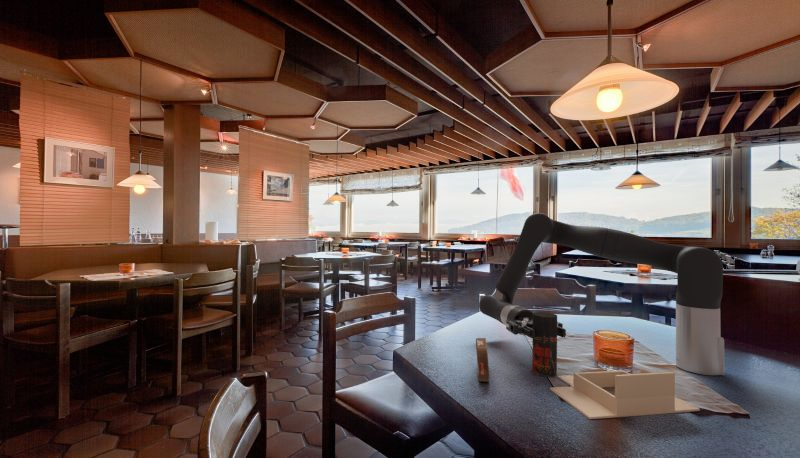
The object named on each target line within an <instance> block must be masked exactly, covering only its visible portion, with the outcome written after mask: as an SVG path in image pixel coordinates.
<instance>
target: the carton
mask: <svg viewBox="0 0 800 458" xmlns="http://www.w3.org/2000/svg"><path fill="white" fill-rule="evenodd" d="M557 379H559V380H560V381H562V382H564V383H565V384H566V385H568V386H557V387H549V390H550V391H551V392H553V394H555V395H557V396H558V397H559V398H561V399H562V400H563V401H564V402H565V403H567V404H569V405H570V406H571V407H573V408H574V409H575V410H577V411H578V412H579V413H580V414H582V415H583V416H585V417H586V418H587V419H589V420H598V419H610V418H612V419H613V418H624V417H626V418H627V417H637V416H651V415H663V414H676V413H687V412H688V413H690V412H700V411H701V408H699V407H697V406H695V405H692V404H690V403H689V402H687V401H685V400H683V399H680V398H679V397H676V383H675V382H676V373H675V372H674V371H667V372H665V371H663V372H649V373H647V372H646V373H630V372H627V371H625V370H623V369H622V370H606V371H605V370H603V371H588V372H587V371H586V372H573V374H572V375H571V374H570V375H558V376H557ZM604 388H614V394H612V393H610V392H609V391H607V390H605V389H604Z"/></svg>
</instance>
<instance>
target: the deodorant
mask: <svg viewBox="0 0 800 458" xmlns="http://www.w3.org/2000/svg"><path fill="white" fill-rule="evenodd" d="M557 322H558V314H555V313H551V312H543V311H538V312H537V311H536V312H535V311H534V312H533V329H534V330H535V338H531V339H532V345H531V346H532V347H531V348H532V349H531V350H532V353H531V354H532V356H531V358H532V361H531V362H532V363H531V364H532V365H531V366H532V367H531V371H532V373H534V374H535V375H538V376H540V377H545V378H551V377H552V378H554V377H556V376H557V374H558V335H557Z"/></svg>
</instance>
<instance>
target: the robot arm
mask: <svg viewBox="0 0 800 458" xmlns="http://www.w3.org/2000/svg"><path fill="white" fill-rule="evenodd" d="M543 243H544V244H553V245H559V246H564V247H568V248H572V249H575V250H577V251H580V252H583V253H586V254H589V255H592V256H596V257H598V258H603V259H607V260H611V261H615V262H620V263H621V262H622V263H628V264H635V265H643V266H644V265H645V266H651V267H655V268H658V269H662V270H666V271H669V272H671V273H675V274H677V276H676V277H677V281H676V282H677V286H676V287H677V289H676V293H675V366H677V367H678V368H679V369H681V370H683V371H686V372H690V373H694V374H698V375H705V376H725V339H724V337H722V336H721V302H722V299H723V288H724V287H723V284H724V266H723V261H722V259H721V257H720V256H719V254H718V253H716V252H715V251H713V250H712V249H710V248H707V247H701V246H686V245H677V244H672V243H671V244H670V243H664V242H660V241H655V240H652V239H649V238H647V237H646V238H645V236H644V237H643V236H640V235H638V234H634V233H631V232H626V231H622V230H619V229H613V228H608V227H602V226H592V225H591V226H589V225H574V224H568V223H565V222H561V221H558V220H555V219H552V218H550V217H549V215H547V214H545V213H542V212H536V213H535V212H534V213H532V214H530V215H529V216H527V218H526V219H525V220H524V224H523V227H522V229H521V232H520V235H519V238H518V241H517V243H516V245H515V248H514V250H513V252H512V254H511V256H510V258H508V259H509V260H508V262H507V263H506V264H505V267H504V268H503V270H502V272H501V274H500V276H499V278H498V279H497V281H496V283H495V286H494V287H495V289H496V290H497V291H498V292H499V293H501V294H502V298H501V299H500V298H498V297H496V296H494V295H492V294H486V295H484V296H482V297H481V298H480V300H479V303H478V306H479V307H478V308H479V311H480V312H481V313H482V314H483V315H485V316H487V317H490V318H492V319H494V320H496V321H498V322H499V323H501V324H502V325H504V326H505V329H506V330H507V331H508V332H510V334H511V333H512V334H513V335H515V336H517V335H521V336H527V337H528V338H530V339H533V338H535V330H534V329H533V313H534V312H533V311H532V310H530V309H527V308H525V307H522V306H520V305H517V304H513V302H514V298H515V295H516V292H517V290H519V287H520V286H521V283H522V282H523V280H524V278H525V275H526V273H527V270H528V268H529V265H530V262H531V260H532V258H533V256H534V254H535V253H536V251H537V250H538V248H539V246H541V244H543ZM563 326H564V324H563V323H562V322H559V321H557V337H560V338H566V336H567V335H566V334H567V330H566V329H565V328H564V327H563Z"/></svg>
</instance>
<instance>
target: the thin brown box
mask: <svg viewBox="0 0 800 458" xmlns="http://www.w3.org/2000/svg"><path fill="white" fill-rule="evenodd" d="M475 348H476V349H475V350H476V364H477V378H478V382H481V383H482V382H483V383H490V370H489V369H490V368H489V355H488V353H489V352H488V346H487V339H486V337H477V338H476V339H475Z"/></svg>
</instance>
